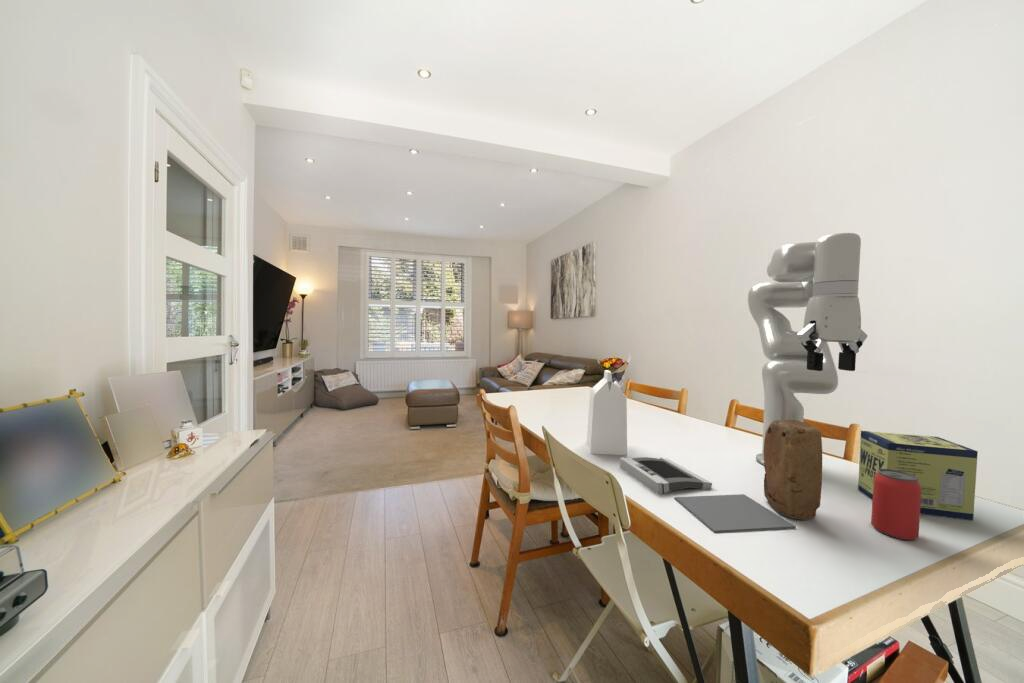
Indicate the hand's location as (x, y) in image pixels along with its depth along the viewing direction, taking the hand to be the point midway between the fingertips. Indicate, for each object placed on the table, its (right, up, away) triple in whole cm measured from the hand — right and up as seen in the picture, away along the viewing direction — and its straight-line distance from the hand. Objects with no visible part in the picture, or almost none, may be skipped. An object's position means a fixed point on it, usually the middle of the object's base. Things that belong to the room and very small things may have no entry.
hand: (830, 369), depth 80 cm
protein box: (+22, -32, +4) cm, 40 cm away
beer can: (+6, -32, -8) cm, 34 cm away
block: (-9, -32, 0) cm, 33 cm away
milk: (-40, -30, +40) cm, 64 cm away
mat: (-23, -32, -1) cm, 39 cm away
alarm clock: (-30, -31, +17) cm, 47 cm away
